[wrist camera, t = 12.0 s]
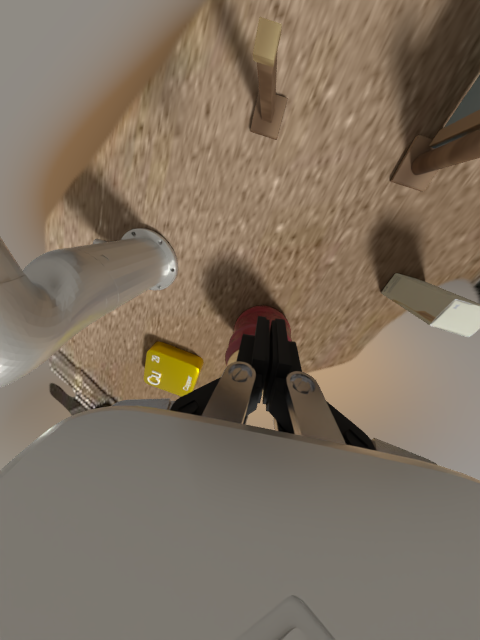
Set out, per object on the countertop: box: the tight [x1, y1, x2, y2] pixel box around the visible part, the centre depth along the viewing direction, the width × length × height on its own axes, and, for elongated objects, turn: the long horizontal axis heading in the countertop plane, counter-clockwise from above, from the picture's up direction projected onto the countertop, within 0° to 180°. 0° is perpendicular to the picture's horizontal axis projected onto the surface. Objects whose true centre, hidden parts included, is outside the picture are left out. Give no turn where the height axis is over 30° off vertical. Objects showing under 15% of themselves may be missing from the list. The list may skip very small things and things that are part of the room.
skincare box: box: [381, 273, 480, 337], centre depth 29 cm, size 6×4×12 cm
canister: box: [225, 306, 292, 394], centre depth 35 cm, size 13×13×18 cm
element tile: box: [144, 342, 204, 397], centre depth 52 cm, size 15×15×5 cm
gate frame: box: [250, 17, 480, 191], centre depth 19 cm, size 27×5×14 cm, turn 75°
